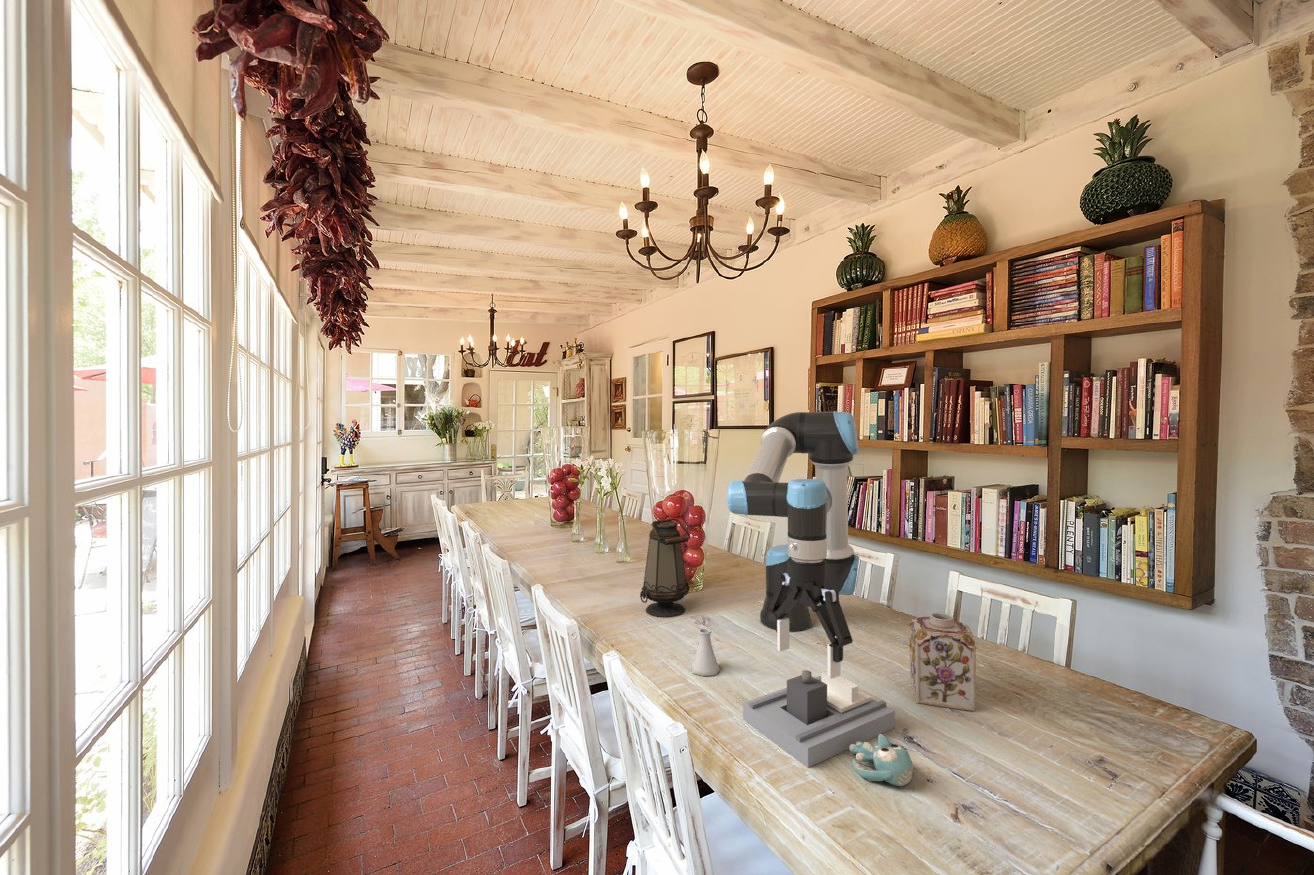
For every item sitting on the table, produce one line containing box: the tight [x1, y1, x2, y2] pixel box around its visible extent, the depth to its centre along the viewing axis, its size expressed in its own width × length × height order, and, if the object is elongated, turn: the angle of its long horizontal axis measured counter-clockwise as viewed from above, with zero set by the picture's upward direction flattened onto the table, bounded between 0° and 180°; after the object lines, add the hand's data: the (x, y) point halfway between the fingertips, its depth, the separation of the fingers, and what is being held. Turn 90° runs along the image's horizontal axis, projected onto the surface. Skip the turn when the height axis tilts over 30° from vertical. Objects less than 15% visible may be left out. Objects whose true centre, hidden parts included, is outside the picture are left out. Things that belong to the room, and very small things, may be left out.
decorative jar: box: [909, 611, 977, 712], centre depth 120 cm, size 12×12×18 cm
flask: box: [690, 627, 721, 677], centre depth 133 cm, size 7×7×10 cm
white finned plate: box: [820, 670, 872, 713], centre depth 112 cm, size 9×9×4 cm
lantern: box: [639, 517, 691, 619], centre depth 175 cm, size 18×15×30 cm
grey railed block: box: [742, 675, 896, 768], centre depth 109 cm, size 24×18×4 cm
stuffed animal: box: [848, 733, 914, 787], centre depth 95 cm, size 11×7×12 cm
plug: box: [786, 669, 827, 725], centre depth 108 cm, size 6×6×10 cm
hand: (807, 662), depth 108 cm, fingers open, 13 cm apart
